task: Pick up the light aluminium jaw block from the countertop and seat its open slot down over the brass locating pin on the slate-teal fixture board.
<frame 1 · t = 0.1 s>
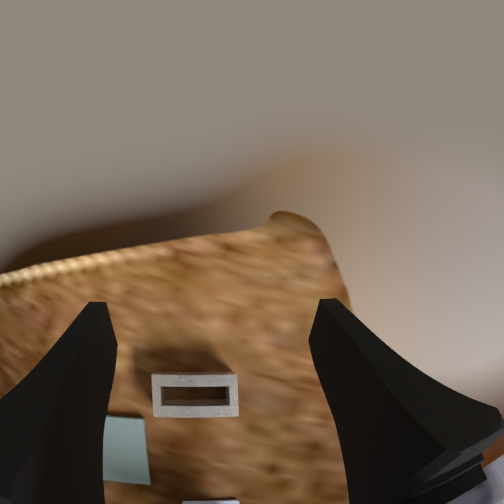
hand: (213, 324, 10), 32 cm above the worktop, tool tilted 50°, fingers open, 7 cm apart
jaw block: (195, 390, 39), on the worktop
fixture board: (98, 446, 33), on the worktop
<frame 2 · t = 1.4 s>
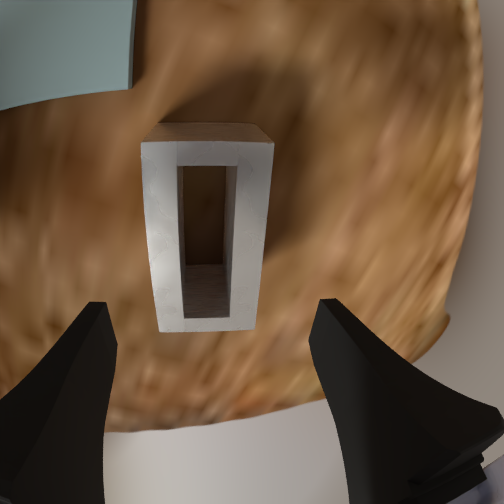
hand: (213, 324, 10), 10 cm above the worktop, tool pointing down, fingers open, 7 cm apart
jaw block: (204, 207, 18), on the worktop
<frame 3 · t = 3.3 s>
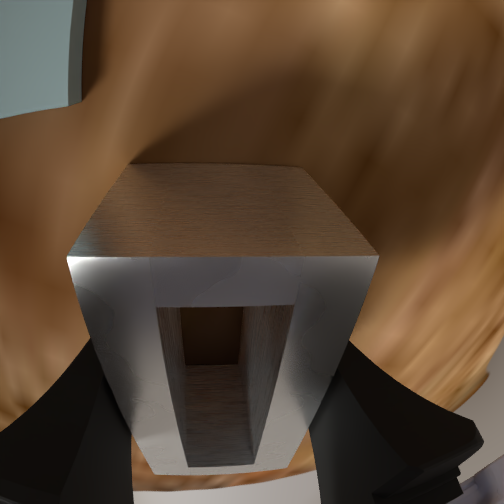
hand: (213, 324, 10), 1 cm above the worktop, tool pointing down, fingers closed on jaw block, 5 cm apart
jaw block: (211, 298, 12), on the worktop, touching gripper
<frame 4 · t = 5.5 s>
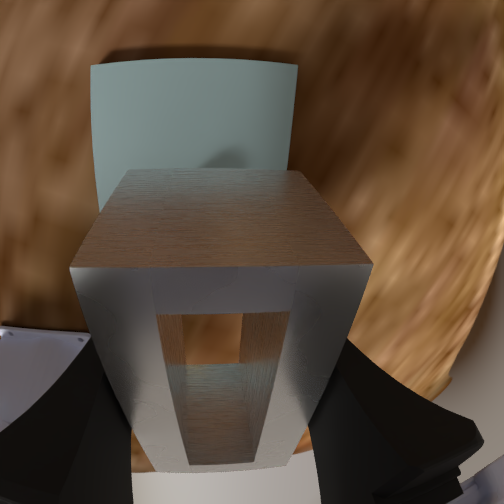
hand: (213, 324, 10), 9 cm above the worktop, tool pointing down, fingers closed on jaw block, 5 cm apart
jaw block: (212, 299, 12), point 7 cm above the worktop, touching gripper
fixture board: (189, 187, 17), on the worktop
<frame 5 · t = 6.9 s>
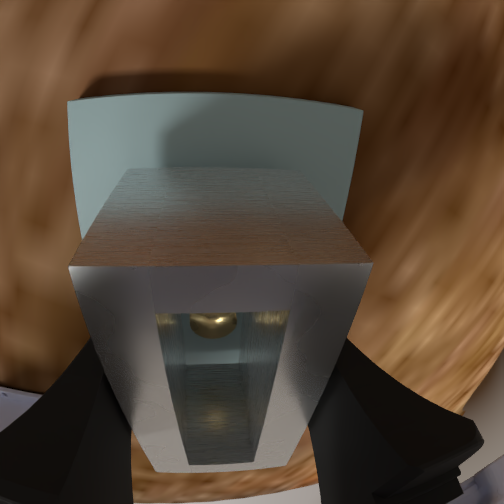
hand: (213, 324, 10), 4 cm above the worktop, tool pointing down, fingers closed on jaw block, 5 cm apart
locating pin: (211, 298, 12), on the fixture board, point 2 cm above the worktop
jaw block: (211, 298, 12), point 2 cm above the worktop, touching gripper
fixture board: (209, 264, 13), on the worktop
when the fingers open (3 cm above the worktop, at t = 8.0 s): jaw block stays where it is, resting on fixture board.
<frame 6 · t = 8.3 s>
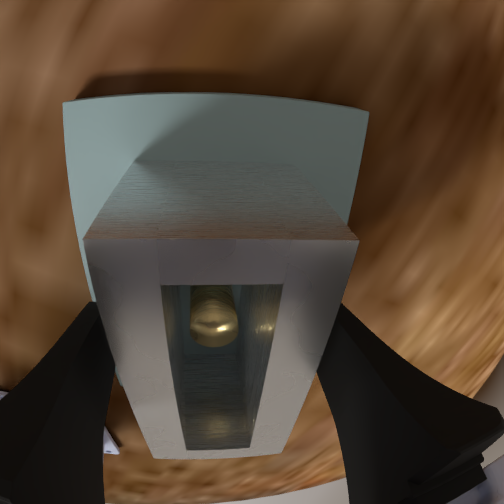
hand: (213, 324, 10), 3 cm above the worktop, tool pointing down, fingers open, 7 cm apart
locating pin: (212, 306, 11), on the fixture board, point 2 cm above the worktop
jaw block: (210, 287, 12), point 1 cm above the worktop, touching fixture board
fixture board: (210, 269, 13), on the worktop
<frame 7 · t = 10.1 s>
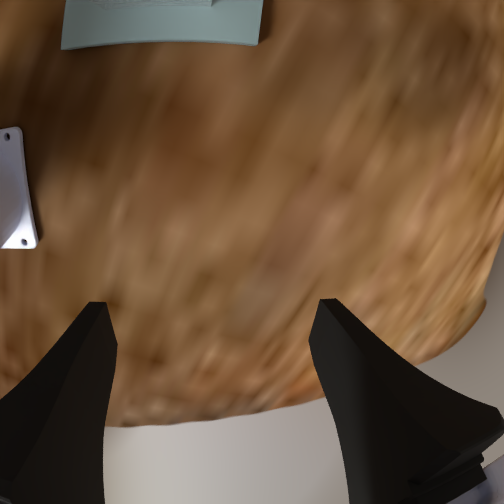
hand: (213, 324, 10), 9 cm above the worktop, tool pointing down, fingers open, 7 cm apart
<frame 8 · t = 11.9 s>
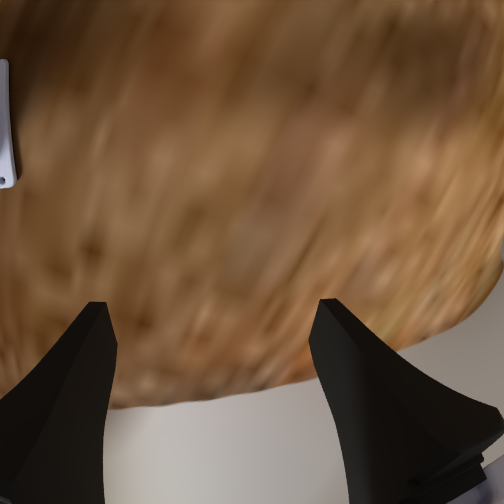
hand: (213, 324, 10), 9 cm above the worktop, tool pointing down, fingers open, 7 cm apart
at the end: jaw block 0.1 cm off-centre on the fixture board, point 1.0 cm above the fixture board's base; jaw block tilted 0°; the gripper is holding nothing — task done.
